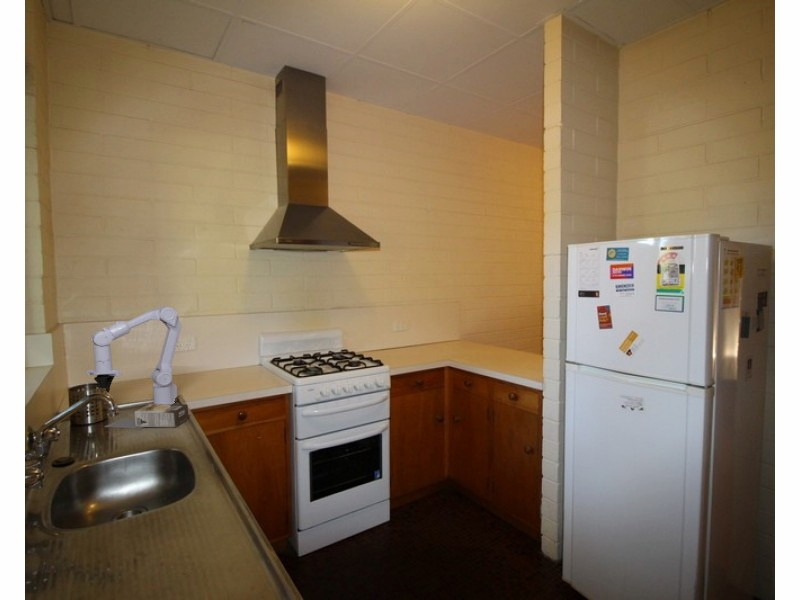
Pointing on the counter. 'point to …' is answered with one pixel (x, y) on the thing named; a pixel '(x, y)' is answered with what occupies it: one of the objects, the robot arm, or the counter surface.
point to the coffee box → (161, 415)
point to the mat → (124, 424)
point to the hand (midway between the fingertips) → (105, 392)
